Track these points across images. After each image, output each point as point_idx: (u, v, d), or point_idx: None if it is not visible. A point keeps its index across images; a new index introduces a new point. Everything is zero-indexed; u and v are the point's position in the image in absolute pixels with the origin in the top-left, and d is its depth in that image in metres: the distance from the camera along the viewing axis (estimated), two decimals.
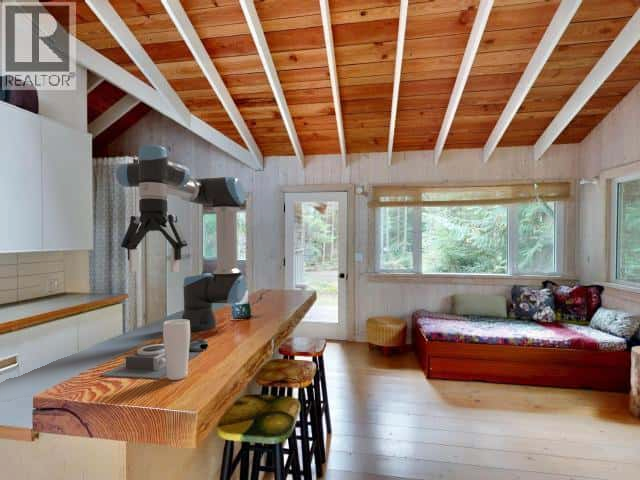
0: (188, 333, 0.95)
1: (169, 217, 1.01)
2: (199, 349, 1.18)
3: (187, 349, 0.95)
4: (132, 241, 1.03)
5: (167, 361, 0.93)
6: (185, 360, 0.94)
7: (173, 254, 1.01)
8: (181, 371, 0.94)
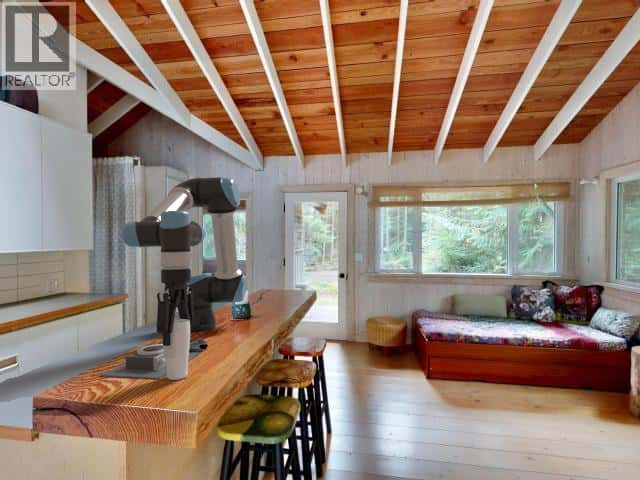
0: (188, 333, 0.95)
1: None
2: (199, 349, 1.18)
3: (187, 349, 0.95)
4: None
5: (167, 361, 0.93)
6: (185, 360, 0.94)
7: None
8: (181, 371, 0.94)
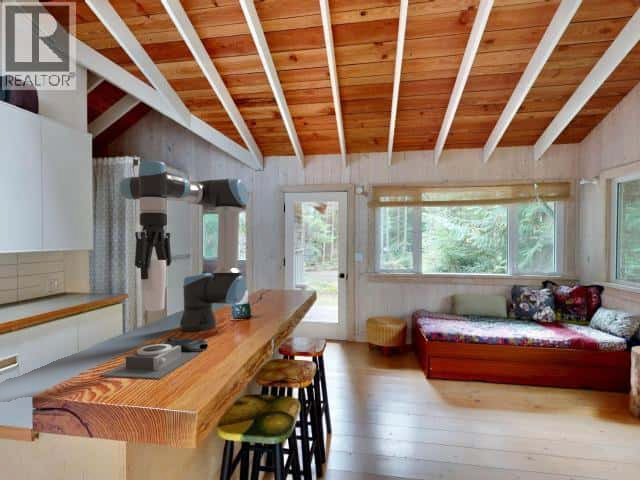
0: (164, 270, 1.06)
1: None
2: (199, 349, 1.18)
3: (163, 285, 1.06)
4: None
5: (145, 294, 1.04)
6: (161, 294, 1.06)
7: None
8: (158, 303, 1.05)
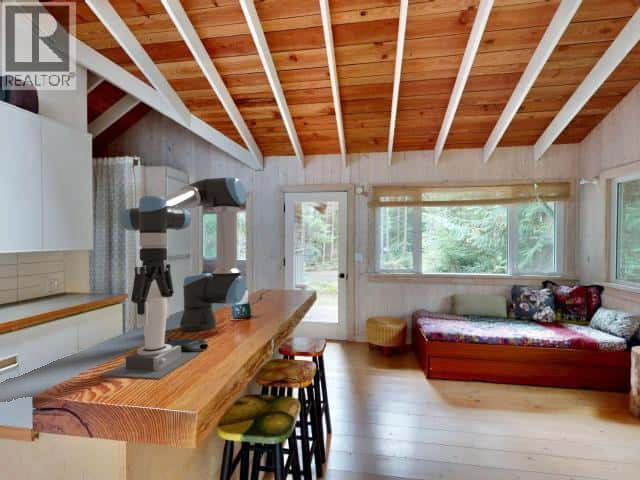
0: (165, 308, 1.06)
1: None
2: (199, 349, 1.18)
3: (164, 323, 1.06)
4: None
5: (145, 333, 1.04)
6: (162, 332, 1.06)
7: None
8: (158, 342, 1.05)
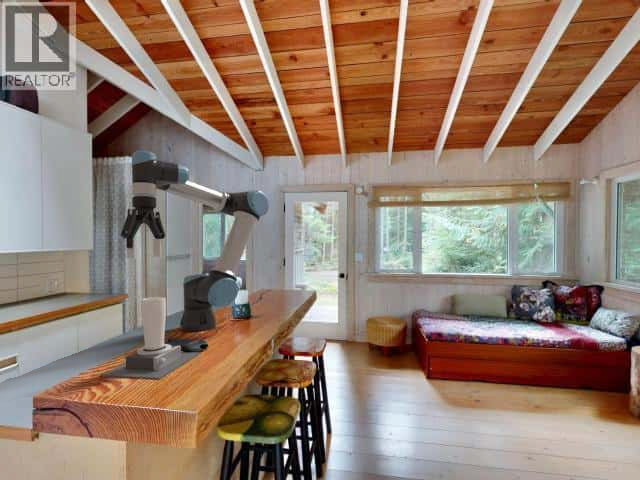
0: (163, 308, 1.06)
1: None
2: (199, 349, 1.18)
3: (163, 323, 1.06)
4: None
5: (145, 333, 1.04)
6: (161, 333, 1.06)
7: None
8: (157, 342, 1.05)
